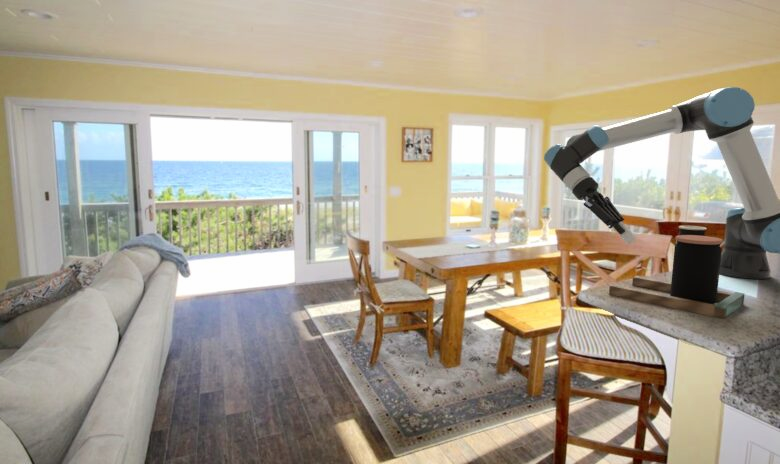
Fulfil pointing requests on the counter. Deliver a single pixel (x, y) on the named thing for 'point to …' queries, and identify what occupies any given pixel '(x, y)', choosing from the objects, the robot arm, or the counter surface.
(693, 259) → the coffee jar
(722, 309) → the bay
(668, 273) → the counter surface
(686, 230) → the travel mug
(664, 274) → the counter surface
